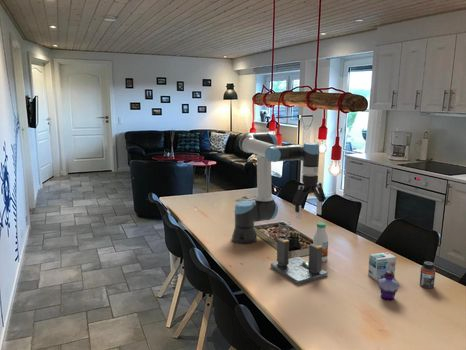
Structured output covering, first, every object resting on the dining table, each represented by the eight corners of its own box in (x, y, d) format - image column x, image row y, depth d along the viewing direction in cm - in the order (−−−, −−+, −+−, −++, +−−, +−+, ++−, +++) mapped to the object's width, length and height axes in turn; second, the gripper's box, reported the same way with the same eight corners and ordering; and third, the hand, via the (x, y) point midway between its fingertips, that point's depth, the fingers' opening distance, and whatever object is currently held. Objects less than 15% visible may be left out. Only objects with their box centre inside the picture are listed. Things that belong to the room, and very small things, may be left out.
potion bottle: (380, 290, 173) (382, 265, 171) (400, 296, 168) (403, 270, 166) (373, 298, 167) (375, 272, 165) (394, 304, 162) (396, 278, 159)
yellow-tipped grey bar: (275, 263, 197) (275, 238, 194) (282, 261, 200) (283, 236, 197) (282, 267, 192) (282, 241, 189) (290, 265, 194) (290, 240, 192)
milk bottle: (316, 262, 202) (318, 226, 198) (310, 257, 210) (311, 221, 206) (330, 261, 204) (331, 225, 200) (322, 255, 212) (324, 220, 208)
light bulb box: (375, 280, 182) (377, 259, 180) (367, 274, 189) (368, 254, 187) (395, 278, 185) (397, 256, 183) (386, 272, 192) (387, 251, 189)
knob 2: (306, 270, 190) (307, 243, 187) (314, 267, 192) (315, 242, 189) (315, 274, 184) (316, 247, 182) (322, 272, 187) (324, 246, 184)
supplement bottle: (421, 281, 181) (423, 259, 179) (435, 285, 178) (437, 262, 175) (417, 286, 177) (420, 263, 175) (432, 290, 173) (434, 266, 171)
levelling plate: (270, 267, 197) (270, 260, 197) (298, 259, 206) (298, 253, 205) (298, 285, 179) (298, 277, 178) (327, 276, 187) (327, 268, 187)
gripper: (295, 178, 180) (294, 222, 184) (334, 173, 193) (332, 213, 197) (285, 176, 186) (284, 218, 191) (323, 170, 199) (321, 210, 203)
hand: (308, 216), depth 194 cm, fingers open, 13 cm apart
